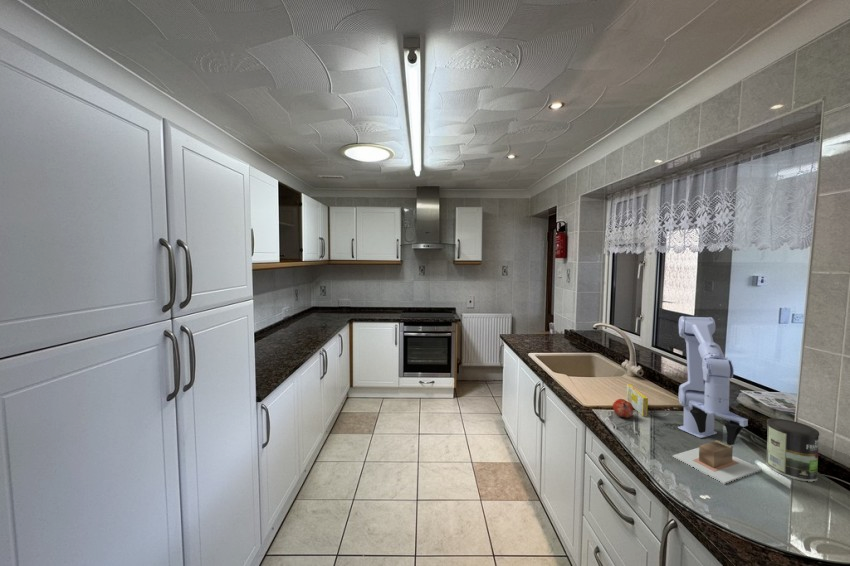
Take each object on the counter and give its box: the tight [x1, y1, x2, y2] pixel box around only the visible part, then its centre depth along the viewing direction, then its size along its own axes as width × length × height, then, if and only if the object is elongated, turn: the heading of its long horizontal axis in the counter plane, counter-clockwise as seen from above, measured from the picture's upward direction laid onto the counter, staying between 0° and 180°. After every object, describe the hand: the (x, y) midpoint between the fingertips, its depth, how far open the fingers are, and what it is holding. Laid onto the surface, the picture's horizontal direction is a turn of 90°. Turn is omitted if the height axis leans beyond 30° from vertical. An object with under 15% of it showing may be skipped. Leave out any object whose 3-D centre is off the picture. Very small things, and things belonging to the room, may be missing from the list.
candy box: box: [625, 383, 649, 418], centre depth 139 cm, size 16×2×8 cm, turn 168°
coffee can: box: [766, 417, 820, 483], centre depth 95 cm, size 10×10×14 cm
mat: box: [672, 447, 763, 485], centre depth 99 cm, size 18×14×1 cm
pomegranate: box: [612, 398, 634, 419], centre depth 132 cm, size 7×7×10 cm
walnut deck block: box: [698, 439, 734, 468], centre depth 99 cm, size 4×9×5 cm, turn 108°
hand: (715, 437), depth 99 cm, fingers open, 7 cm apart
